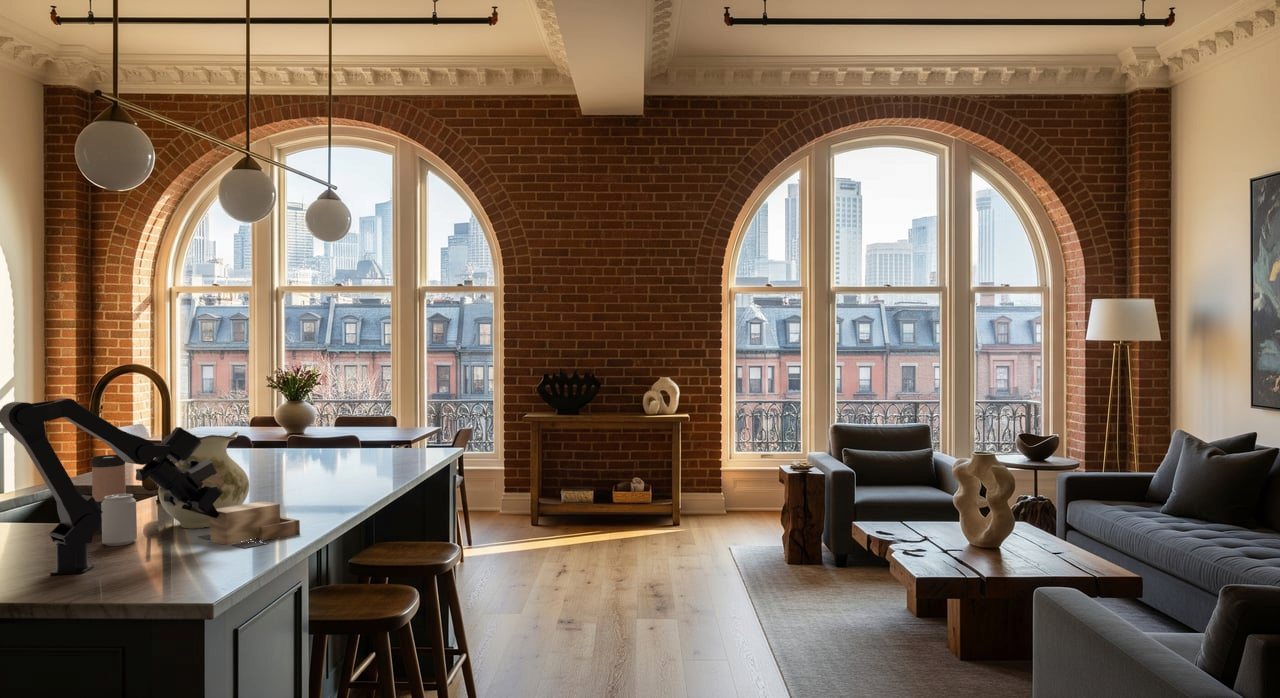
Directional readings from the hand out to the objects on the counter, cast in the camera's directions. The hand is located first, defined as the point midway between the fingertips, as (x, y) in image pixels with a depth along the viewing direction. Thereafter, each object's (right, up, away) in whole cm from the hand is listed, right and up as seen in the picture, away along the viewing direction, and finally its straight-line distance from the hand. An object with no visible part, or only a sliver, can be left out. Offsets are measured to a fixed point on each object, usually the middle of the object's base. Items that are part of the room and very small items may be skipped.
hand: (217, 516), depth 216 cm
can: (-25, -7, +2) cm, 26 cm away
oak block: (+4, -7, +6) cm, 10 cm away
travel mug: (-37, -8, +17) cm, 41 cm away
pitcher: (-16, -7, +25) cm, 30 cm away
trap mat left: (-4, -7, +8) cm, 11 cm away
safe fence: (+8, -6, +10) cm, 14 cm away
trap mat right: (+9, -6, -2) cm, 11 cm away
